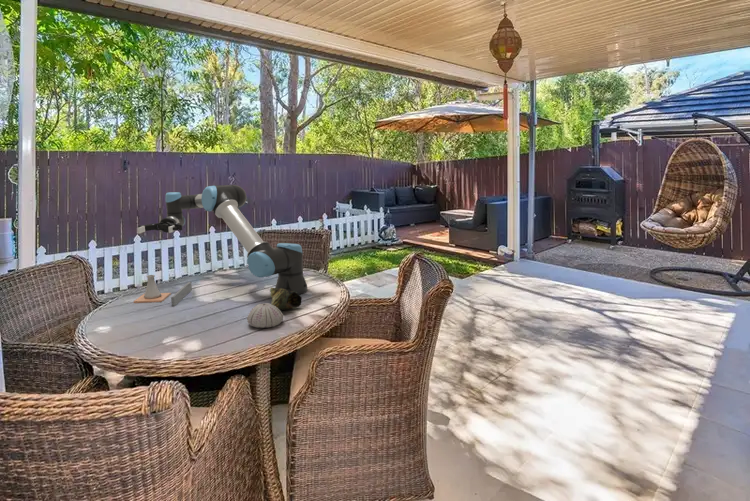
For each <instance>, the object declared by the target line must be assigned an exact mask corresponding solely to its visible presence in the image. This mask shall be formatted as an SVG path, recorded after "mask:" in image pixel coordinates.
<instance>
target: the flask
mask: <svg viewBox="0 0 750 501" xmlns="http://www.w3.org/2000/svg"><path fill="white" fill-rule="evenodd" d="M155 276H156V275H155V274H148V275H146V278H147V284H146V288H145V291H144V293H143V294H144V298H148V299H152V298H157V297H160V296H162V295H161V293H162V292H161V291H160V290H159V288H158V285H157V284H156V281H155Z"/></svg>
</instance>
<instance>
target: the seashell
mask: <svg viewBox="0 0 750 501" xmlns="http://www.w3.org/2000/svg"><path fill="white" fill-rule="evenodd" d="M269 293H270V297H271V301H270V304H272V305H274V306H276V307H277V308H278V309H279V310H280V311H287V310H296V309H297V308H299V307H300V306H301V305H302V303H303V302H302V296H301V294H298V293H297V292H295V291H292V292H288V291H287V290H286V289H278V288H275V287H270V288H269Z"/></svg>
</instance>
